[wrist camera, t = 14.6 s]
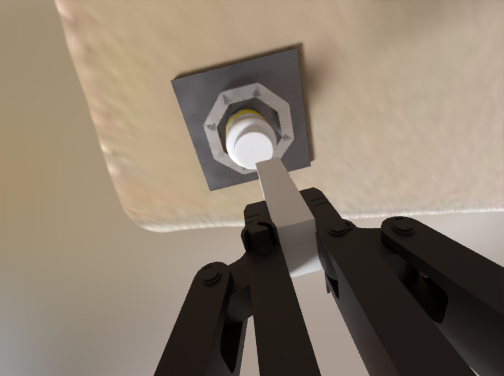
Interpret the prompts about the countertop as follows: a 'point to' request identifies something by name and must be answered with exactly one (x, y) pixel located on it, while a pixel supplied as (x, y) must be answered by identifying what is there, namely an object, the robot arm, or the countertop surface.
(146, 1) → the countertop surface
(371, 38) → the countertop surface
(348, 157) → the countertop surface
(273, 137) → the supplement bottle
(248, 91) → the collar
